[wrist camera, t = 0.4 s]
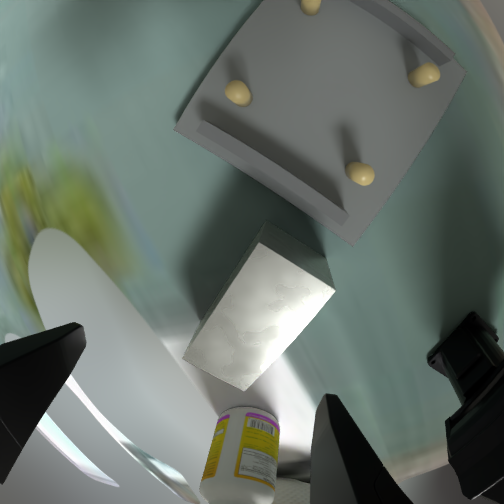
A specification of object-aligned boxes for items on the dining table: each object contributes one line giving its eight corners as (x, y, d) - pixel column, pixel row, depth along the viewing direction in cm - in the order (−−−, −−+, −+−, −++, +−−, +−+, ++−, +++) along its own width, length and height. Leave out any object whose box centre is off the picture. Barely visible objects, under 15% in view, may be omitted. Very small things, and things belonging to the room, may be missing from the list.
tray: (460, 74, 14) (485, 65, 10) (349, 241, 19) (361, 260, 16) (301, -34, 13) (301, -59, 9) (178, 130, 18) (156, 127, 15)
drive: (326, 257, 20) (335, 290, 16) (252, 349, 24) (244, 391, 19) (266, 219, 20) (258, 242, 15) (201, 320, 23) (182, 358, 19)
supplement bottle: (228, 438, 29) (205, 530, 17) (210, 404, 27) (176, 510, 15) (285, 436, 28) (276, 536, 16) (275, 401, 26) (260, 520, 14)
